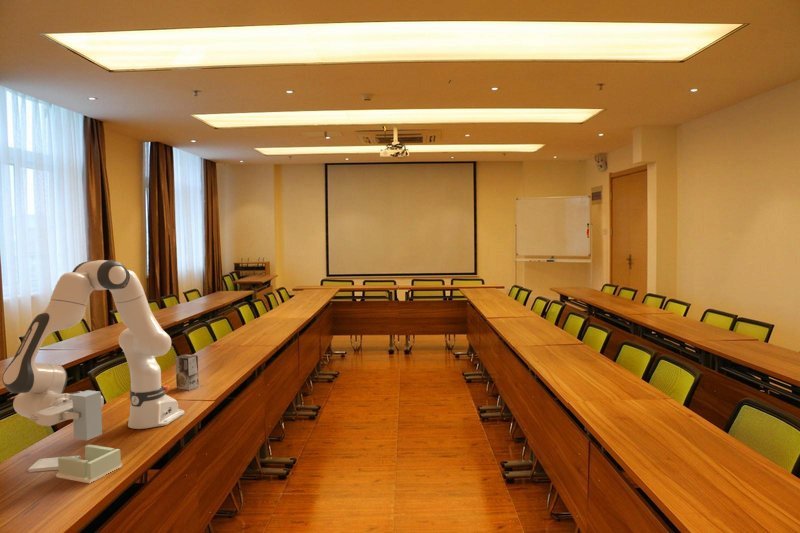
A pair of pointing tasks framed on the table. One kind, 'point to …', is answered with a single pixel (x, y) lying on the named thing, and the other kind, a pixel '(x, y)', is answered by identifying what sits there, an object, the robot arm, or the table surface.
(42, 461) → the hard drive
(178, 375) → the coffee box
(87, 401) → the block
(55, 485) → the table surface
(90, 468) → the cradle
